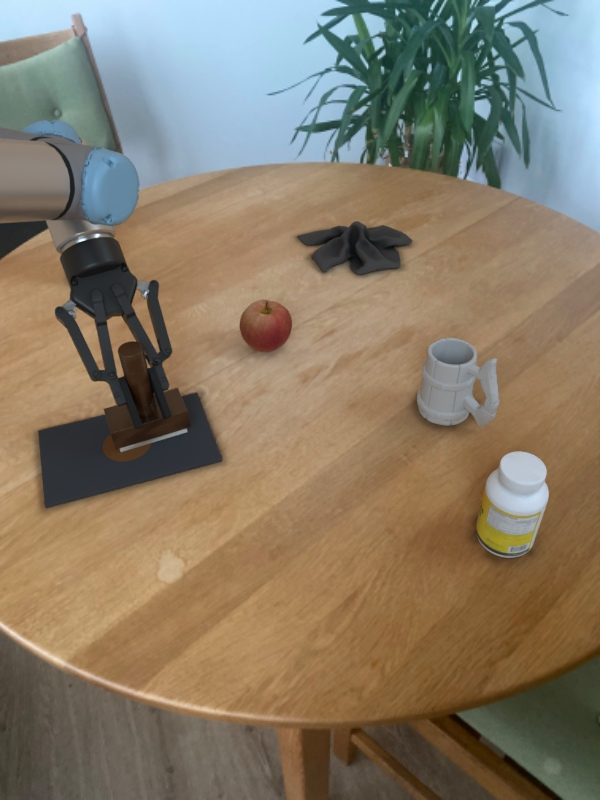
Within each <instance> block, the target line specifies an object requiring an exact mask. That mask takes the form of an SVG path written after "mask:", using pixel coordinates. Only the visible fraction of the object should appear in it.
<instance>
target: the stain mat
mask: <svg viewBox="0 0 600 800" xmlns="http://www.w3.org/2000/svg"><path fill="white" fill-rule="evenodd" d="M181 396H182V399H183V401H184V403H185V405H186V408H187V410H188V414H189V419H190V425H191V427H190V428H187V431H188V432H186V433H183V434H180V435H176V436H173V437H170V438H167V439H163V440H160V441H157V442H153V443H150V444H147V445H143V446H140V447H137V448H133V449H130V450H127V451H123V452H120V449H117V450H116V449H115V446H114V443H113V439H112V436H111V433H110V429H109V426H108V423H107V419H106V416H105V414H101V415H97V416H92V417H88V418H85V419H81V420H75V421H72V422H68V423H64V424H59V425H55V426H51V427H47V428H42V429H39V430H37V434H38V435H37V437H38V445H39V454H40V455H39V457H40V458H39V459H40V468H41V479H42V490H43V501H44V507H45V509H50V508H53V507H58V506H61V505H64V504H68V503H71V502H77V501H79V500H83V499H88V498H90V497H94V496H98V495H101V494H106V493H109V492H113V491H117V490H120V489H124V488H127V487H132V486H135V485H138V484H142V483H143V484H144V483H146V482H150V481H155V480H159V479H161V478H166V477H169V476H172V475H176V474H180V473H184V472H188V471H191V470H195V469H199V468H202V467H207V466H210V465H214V464H217V463H221V462H223V457H222V455H221V452H220V450H219V447H218V444H217V442H216V439H215V436H214V433H213V431H212V427H211V426H210V423H209V420H208V417H207V415H206V412H205V410H204V407H203V404H202V402H201V399H200V396H199V393H198V392H193V393H189V394H188V393H187V394H184V395H181Z"/></svg>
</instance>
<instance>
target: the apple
mask: <svg viewBox="0 0 600 800" xmlns="http://www.w3.org/2000/svg"><path fill="white" fill-rule="evenodd" d="M292 328H293V318H292V316H291V314H290V311H289V310H288V309H287V308H286V307H285V306H284V305H283V304H281V303H279V302H277V301H273V300H270V299H259V300H256V301H253V302H252V303H251V304H250V305H248V306H247V307H246V308H245V309H244V311H243V312H242V314H241V315H240V320H239V331H240V334H241V337H242V339H243V340H244V342H245V343H246V344H247V345H248V347H250V348H251V349H253V350H255V351H257V352H263V353H265V352H272V351H275V350H278V349H279V348H281V347H282V346H283V345H284V344H285V343H286V342H287V341H288V339H289V337H290V335H291V332H292Z"/></svg>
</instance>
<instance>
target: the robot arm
mask: <svg viewBox="0 0 600 800" xmlns="http://www.w3.org/2000/svg"><path fill="white" fill-rule="evenodd" d="M79 137H80V136H79V134H78V132H77V130H76V129H75V127H74V126H73V125H71V124H70V123H69V122H66V121H63V120H60V119H53V120H48V119H43V120H39V121H36V122H33V123H30V124H27V126H25V127H24V128H22V129H21V130H16V129H12V128H8V127H2V126H0V224H11V223H14V224H15V223H27V222H29V223H30V222H44V221H45V224H46V226H47V229H48V231H49V234H50V237H51V239H52V243H53V245H54V248H55V250H56V252H57V253H58V254H60V256H59V262H60V264H61V268H62V269H63V272H64V275H65V277H66V280H67V283H68V285H69V289H70V291H69V300H67V301H66V302H65V303H63V304H62V305H61V306H60V305H59V306H56V307H55V308H54V316H55V319H56V320H57V321H58V322H59V323H60V324H61V325H62V326H63V327H64V328H65V329H66V331H67V332H68V334H69V337H70V339H71V341H72V343H73V345H74V347H75V349H76V352H77V354H78V356H79V358H80V360H81V361H82V364H83V366H84V368H85V370H86V373H87V375H88V377H89V379H90V380H91V381H92V382H94V383H97V382H105V383H106V384H108V386H109V388H110V391H111V394H112V396H113V399H114V403H115V405H118V406H122V405H125V404H126V406H127V409H128V411H129V414H130V417H131V419H132V422H133V425H134V428H135V430H136V429H139V428H141V427H142V426H143V425H142V422H141V419H140V417H139V414H138V411H137V409H136V406H135V403H134V401H133V398H132V395H131V393H130V390H129V387H128V384H127V382H126V379H125V376H124V375H122V376H120V377H118V372H117V366H116V362H115V357H114V351H113V346H112V343H111V336H110V332H109V327H108V321H109V320H110V319H111V318H115V317H120V318H122V320H123V322H124V323H125V325H126V326H127V328H128V330H129V331H130V333H131V335H132V337H133V339H134V341H136V342H139V343H141V344H142V346H143V349H144V354H145V358H146V362H147V364H148V365H149V367H148V371H149V375H150V379H151V384H152V388H153V392H154V395H155V398H156V400H157V403H158V406H159V409H160V411H161V414H162V417H163V419H167V418H169V417H171V416H172V415H171V412H170V409H169V406H168V404H167V401H166V398H165V396H164V393H163V392H165V391H168V390H170V383H169V380H168V377H167V375H166V371H165V369H164V366H163V363H164V362H165V361H166V360H168V359H170V357H171V356H172V354H173V348H172V343H171V339H170V336H169V333H168V330H167V329H168V328H167V325H166V322H165V319H164V314H163V312H162V308H161V304H160V301H159V291H160V290H159V289H160V283H159V281H158V280H156V279H151V280H150V281H145V280H138V278H137V277H136V276H135V275H134V274H133V273H132V271H131V270H130V267H129V265H128V263H127V261H126V258H125V255H124V253H123V249H122V247H121V244H120V242H119V240H117V239H116V238H115V237H116V231H115V226H119V225H122V224H124V223H125V222H126V221H127V220H129V219H130V217H132V215H133V213H134V212H135V210H136V209H137V208H136V207H137V205H138V201H139V198H140V195H139V193H140V179H139V174H138V171H137V168H136V166H135V164H134V163H133V161H131V159H130V158H129V157H127V156H126V155H125V154H123V153H120V152H118V151H114V150H110V149H107V148H106V146H105V147H104V146H94V145H93V146H92V145H88V144H87V145H83V144H82V143H81V141H80V139H79ZM136 291H138V292H139V293H140V296H141V298H142V299H143V300H146V306H147V311H148V314H149V318H150V321H151V325H152V329H153V333H154V336H155V339H156V344H157V347H158V352H157V350H156V348H155V346H154V345H153V342H152V340H151V339H150V337H149V335H148V333H147V331H146V330H145V328H144V327H143V325H142V323H141V321H140V319H139V318H138V315H137V313H136V311H135V309H134V307H133V306H132V305H133V302H134V299H135V294H136ZM76 308H77V309H78V310H80V311H81V312H82V313H84V314H86V315H87V316H89V317H90V318H91V319H93V320H94V325H95V330H96V333H97V339H98V343H99V344H98V345H99V349H100V354H101V359H102V364H103V369H100V368H99V366H98V364H97V362H96V360H95V357H94V356H93V354H92V352H91V350H90V347H89V345H88V343H87V341H86V339H85V337H84V334H83V332H82V330H81V328H80V326H79V324H78V322H77V321H76V319H77V312H76V310H75V309H76Z"/></svg>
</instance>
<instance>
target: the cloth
mask: <svg viewBox="0 0 600 800" xmlns="http://www.w3.org/2000/svg"><path fill="white" fill-rule="evenodd" d="M296 237H297V238H298V240H300V242H301V243H302V244H304V245H306V246H313V245H322V244H324V243H325V244H324V245H322V246H320V247H319V248H317V249H315V250H314V251H313V253H312V254H311V255H310V256H311V258H312V260H314V262H315V263H316V264H317V266H318V268H319V269H320V270H321V271H322V272H323V273H326V272H328V271H329V270H330V269H331V268H332V267H335V266H338V265H340V264H344V263H346V262H348V261H349V262H350V263H349V268H350V270H351V271H352V272H354V273H355V274H357V275H363V274H369V273H372V272H378V271H383V270H389V269H390V270H391V269H397V268H398V269H400V267H401V257H400V253H399V250H398V249H396V248H395V247H402V246H408V245H410V244H411V243H412V242H413V239H412V238H411V237H409V235H407V234H406V233H405V232H403V231H400V230H398V229H396V228H393V227H391V226H388V225H384V224H382V225H378V226H374V227H367V225H365V224H364V223H363V222H360V221H358V220H357V221H356V220H355V221H353V222H352V223H351V224H350V225H349V226H347V225H336V226H333V227H331V228H330V229H328V228H327V229H321V230H316V231H311V232H308V233H303V234H302V233H301V234H299V235H297V236H296Z"/></svg>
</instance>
